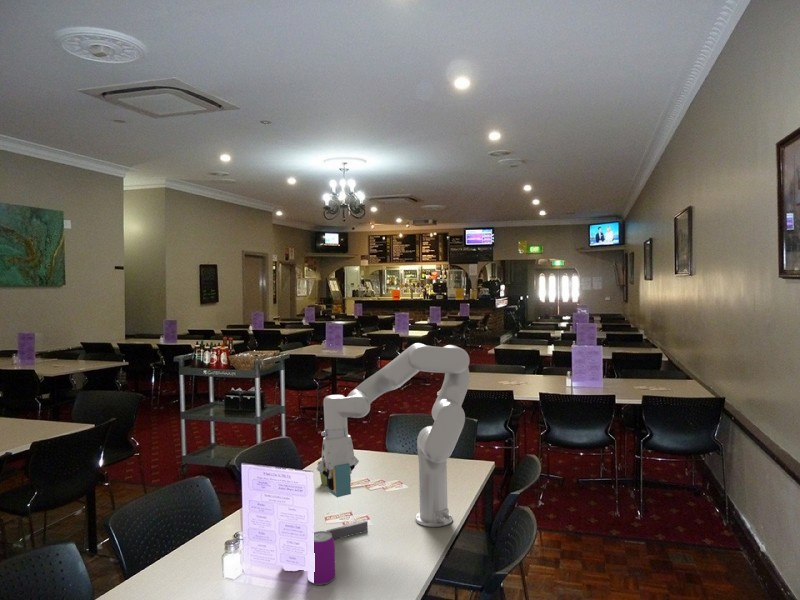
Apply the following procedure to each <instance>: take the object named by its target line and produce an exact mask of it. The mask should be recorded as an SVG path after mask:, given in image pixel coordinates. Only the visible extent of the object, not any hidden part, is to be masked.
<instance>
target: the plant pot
mask: <svg viewBox="0 0 800 600" xmlns="http://www.w3.org/2000/svg"><path fill="white" fill-rule="evenodd" d="M321 461H322V459H321V460H319V461H317V462H316V465H317V466H318V465H319V464H320V462H321ZM323 470H325V471H326V467H323ZM319 475H320V482H321V484H322V485H323V486H327V477H326V476H325V475H324V474H322V473H321V472H319Z"/></svg>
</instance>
